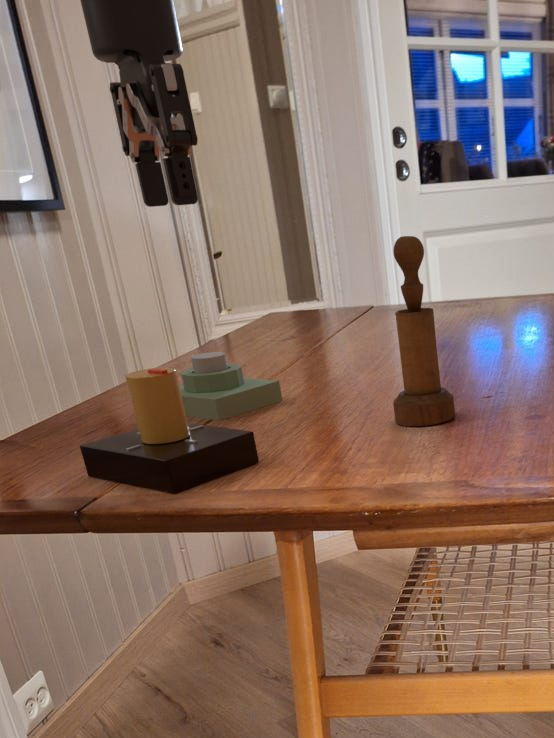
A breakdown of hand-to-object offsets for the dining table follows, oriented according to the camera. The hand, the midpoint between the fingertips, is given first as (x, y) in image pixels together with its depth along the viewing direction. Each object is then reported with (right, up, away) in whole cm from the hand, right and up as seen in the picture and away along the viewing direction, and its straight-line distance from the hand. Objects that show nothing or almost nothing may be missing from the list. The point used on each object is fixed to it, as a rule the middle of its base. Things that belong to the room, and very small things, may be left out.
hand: (171, 205), depth 81 cm
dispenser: (-3, -12, +25) cm, 28 cm away
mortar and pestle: (+23, -17, +13) cm, 31 cm away
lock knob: (-1, -22, 0) cm, 22 cm away
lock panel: (0, -24, +2) cm, 24 cm away
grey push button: (-3, -9, +23) cm, 25 cm away
